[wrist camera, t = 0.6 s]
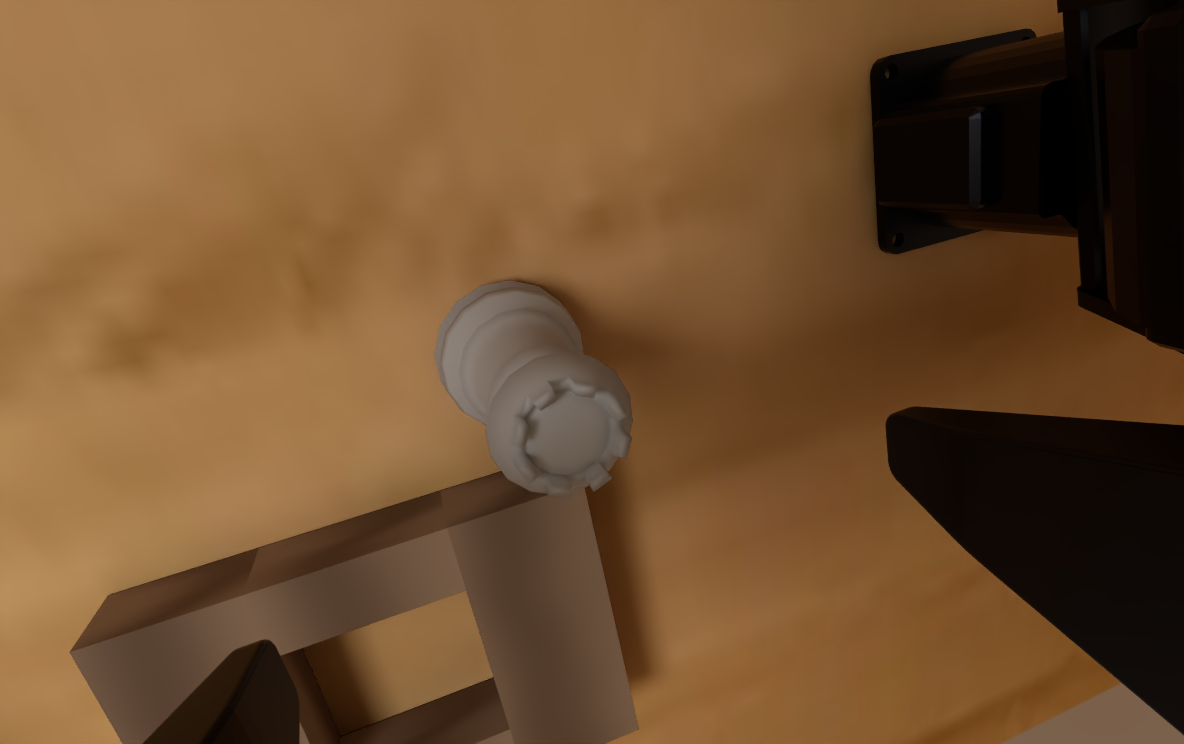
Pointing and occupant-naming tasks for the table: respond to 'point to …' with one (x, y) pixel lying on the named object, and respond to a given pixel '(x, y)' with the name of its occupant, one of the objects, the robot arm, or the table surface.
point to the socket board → (378, 591)
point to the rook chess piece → (534, 388)
